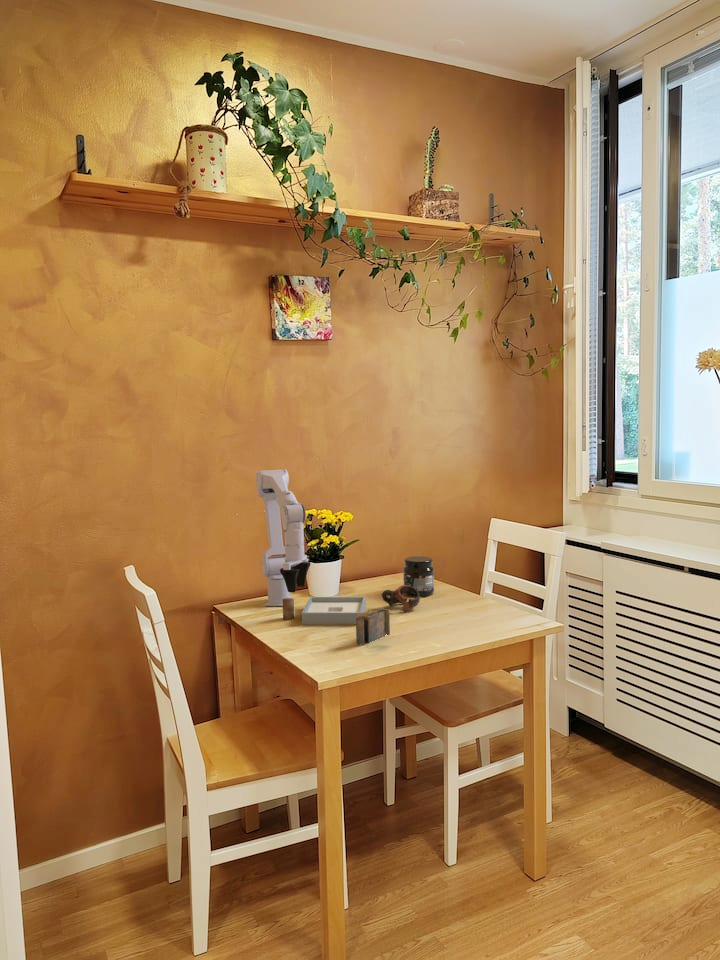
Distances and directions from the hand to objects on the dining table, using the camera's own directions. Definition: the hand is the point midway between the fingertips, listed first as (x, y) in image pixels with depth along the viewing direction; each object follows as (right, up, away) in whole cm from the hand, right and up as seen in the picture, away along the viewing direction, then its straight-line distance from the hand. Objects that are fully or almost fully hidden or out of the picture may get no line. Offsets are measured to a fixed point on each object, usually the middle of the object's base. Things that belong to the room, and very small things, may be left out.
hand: (296, 589), depth 220 cm
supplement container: (+39, -6, +30) cm, 50 cm away
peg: (-3, -10, +4) cm, 11 cm away
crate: (+11, -9, +6) cm, 16 cm away
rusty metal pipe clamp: (+32, -8, +13) cm, 35 cm away
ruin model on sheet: (+23, -12, -17) cm, 31 cm away
